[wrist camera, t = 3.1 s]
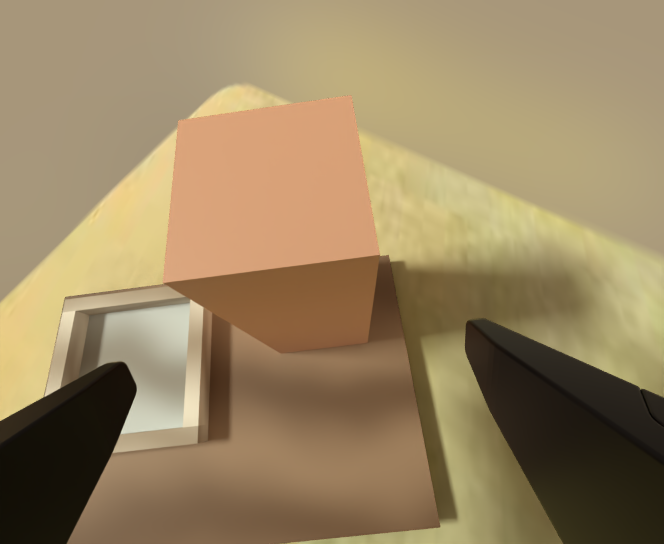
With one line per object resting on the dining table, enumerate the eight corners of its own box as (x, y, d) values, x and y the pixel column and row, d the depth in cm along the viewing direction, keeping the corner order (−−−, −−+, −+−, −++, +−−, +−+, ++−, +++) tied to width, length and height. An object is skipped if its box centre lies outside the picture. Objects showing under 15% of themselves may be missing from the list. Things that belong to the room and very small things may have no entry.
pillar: (367, 342, 18) (379, 254, 7) (280, 353, 19) (163, 282, 7) (355, 262, 20) (351, 94, 9) (276, 272, 20) (178, 120, 9)
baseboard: (435, 519, 16) (446, 537, 14) (26, 561, 17) (-21, 583, 15) (387, 261, 21) (390, 246, 19) (77, 301, 22) (48, 291, 20)
